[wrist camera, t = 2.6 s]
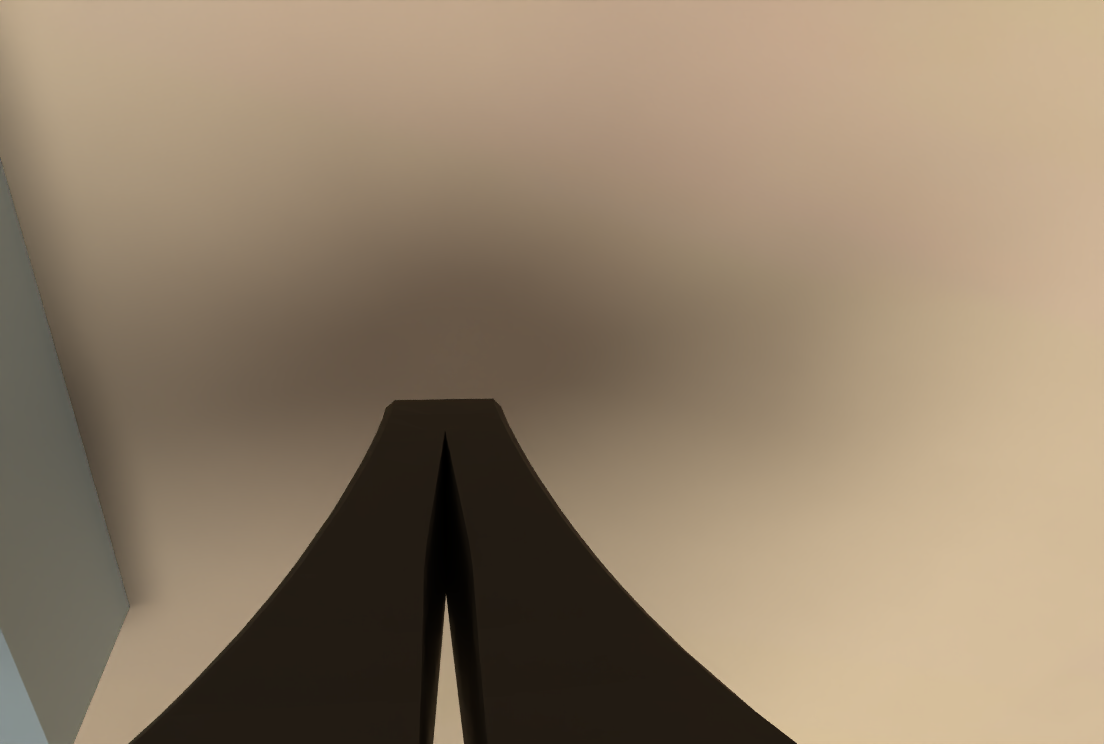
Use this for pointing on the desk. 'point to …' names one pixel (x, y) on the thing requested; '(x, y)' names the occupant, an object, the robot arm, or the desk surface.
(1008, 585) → the desk surface
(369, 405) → the desk surface
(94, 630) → the carton
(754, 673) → the desk surface
